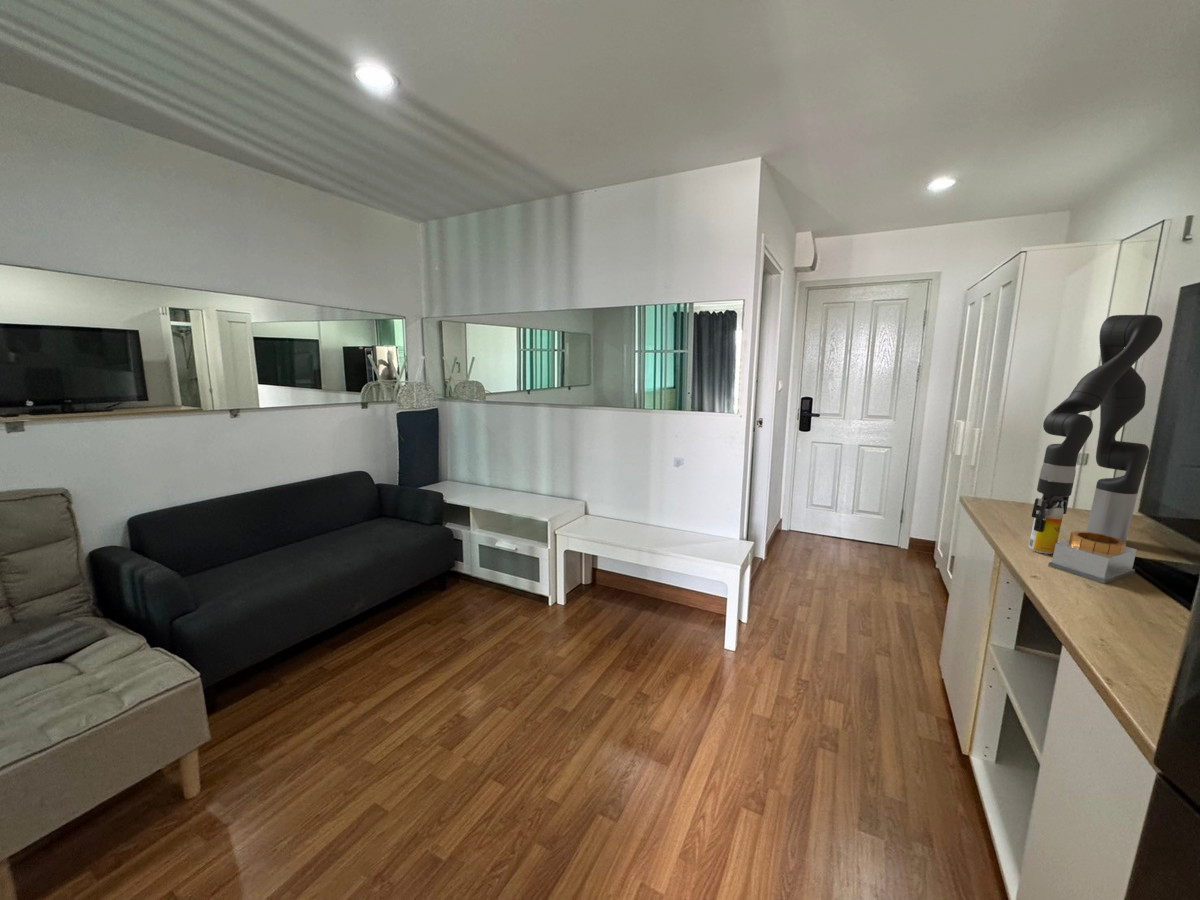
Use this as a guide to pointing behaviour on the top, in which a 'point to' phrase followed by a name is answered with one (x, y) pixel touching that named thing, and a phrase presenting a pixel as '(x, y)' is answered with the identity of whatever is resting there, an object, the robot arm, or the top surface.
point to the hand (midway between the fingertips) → (1045, 529)
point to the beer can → (1047, 533)
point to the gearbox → (1094, 557)
